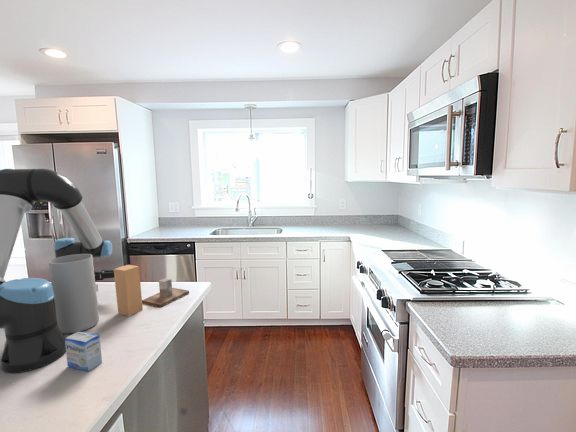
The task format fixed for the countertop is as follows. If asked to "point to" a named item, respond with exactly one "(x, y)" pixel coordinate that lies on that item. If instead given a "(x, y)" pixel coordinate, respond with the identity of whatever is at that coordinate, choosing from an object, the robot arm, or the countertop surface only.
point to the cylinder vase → (74, 292)
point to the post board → (165, 300)
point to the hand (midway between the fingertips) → (113, 282)
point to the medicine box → (83, 351)
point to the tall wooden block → (128, 289)
